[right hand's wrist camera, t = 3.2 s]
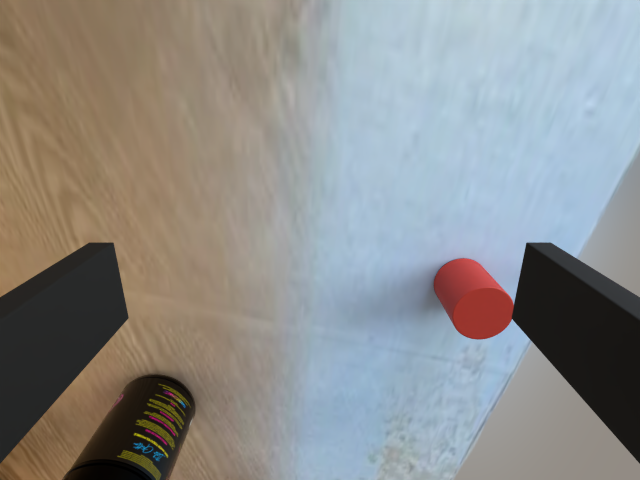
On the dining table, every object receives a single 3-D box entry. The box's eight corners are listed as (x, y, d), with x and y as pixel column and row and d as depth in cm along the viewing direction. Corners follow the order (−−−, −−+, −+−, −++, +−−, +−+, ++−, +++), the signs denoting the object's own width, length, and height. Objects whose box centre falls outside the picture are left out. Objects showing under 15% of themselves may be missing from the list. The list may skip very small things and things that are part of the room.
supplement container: (110, 379, 34) (25, 494, 24) (180, 362, 33) (122, 474, 23) (143, 433, 36) (77, 559, 26) (209, 419, 35) (166, 542, 26)
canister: (483, 252, 29) (512, 280, 25) (488, 298, 31) (516, 332, 26) (429, 265, 30) (448, 294, 25) (437, 309, 31) (456, 345, 27)
